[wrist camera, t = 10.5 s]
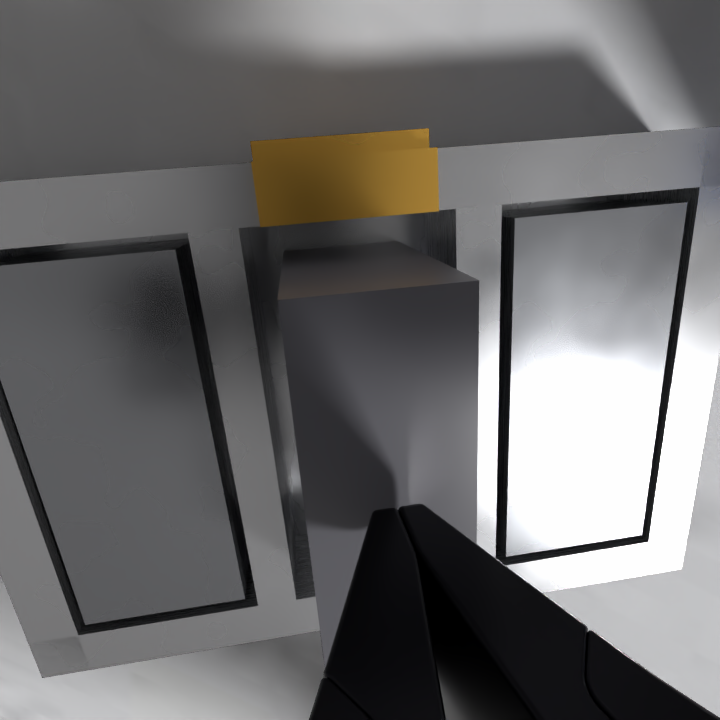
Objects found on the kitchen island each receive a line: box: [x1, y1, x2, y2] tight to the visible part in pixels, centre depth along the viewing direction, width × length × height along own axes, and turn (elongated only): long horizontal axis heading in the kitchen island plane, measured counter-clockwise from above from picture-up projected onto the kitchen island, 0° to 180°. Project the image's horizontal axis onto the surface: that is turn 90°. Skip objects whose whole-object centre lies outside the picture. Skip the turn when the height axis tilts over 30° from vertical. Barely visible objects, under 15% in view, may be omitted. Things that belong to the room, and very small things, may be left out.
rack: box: [0, 126, 720, 678], centre depth 13 cm, size 12×18×4 cm
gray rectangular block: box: [278, 241, 479, 667], centre depth 11 cm, size 8×3×6 cm, turn 4°
